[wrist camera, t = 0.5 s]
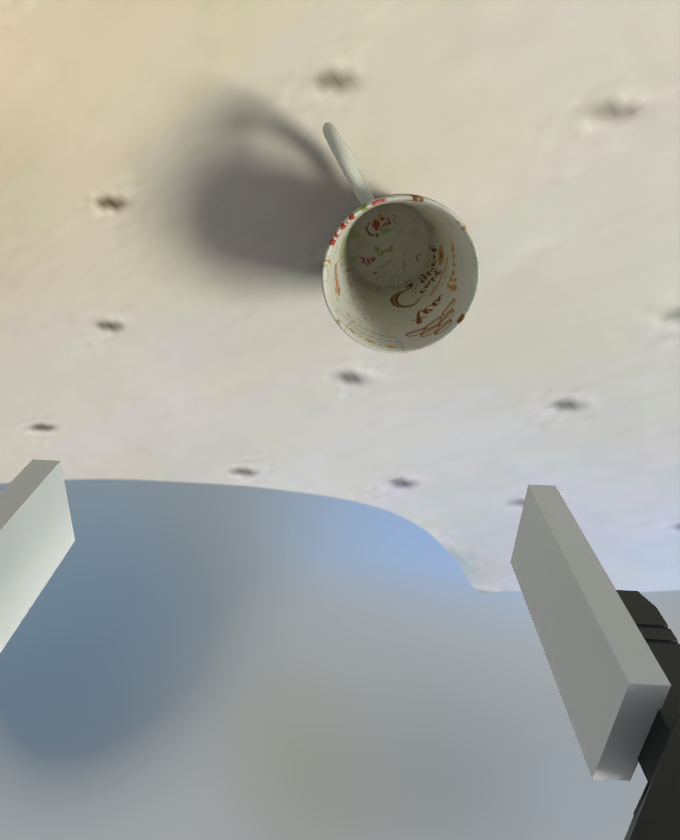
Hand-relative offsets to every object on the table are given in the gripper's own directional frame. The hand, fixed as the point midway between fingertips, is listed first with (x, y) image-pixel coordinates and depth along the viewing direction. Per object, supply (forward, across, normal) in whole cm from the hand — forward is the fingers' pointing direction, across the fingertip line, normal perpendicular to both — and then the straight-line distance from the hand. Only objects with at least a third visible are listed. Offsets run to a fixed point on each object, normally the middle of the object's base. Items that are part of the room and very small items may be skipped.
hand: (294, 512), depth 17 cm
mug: (+27, +3, +5) cm, 28 cm away
